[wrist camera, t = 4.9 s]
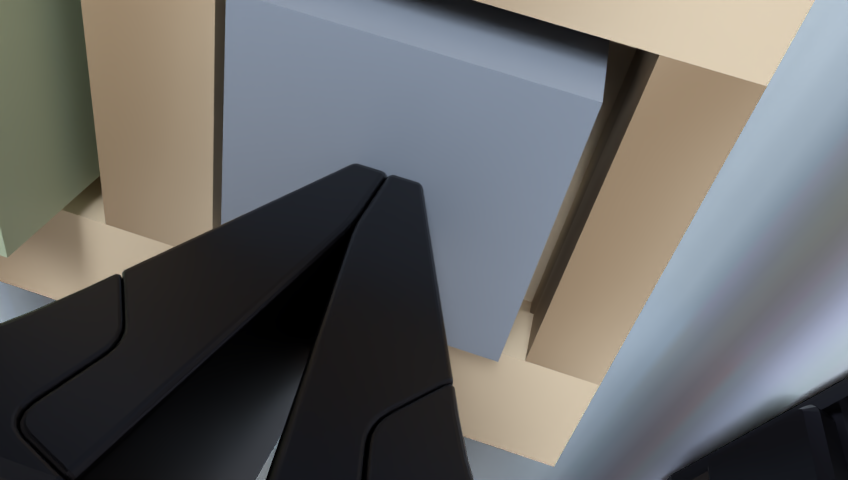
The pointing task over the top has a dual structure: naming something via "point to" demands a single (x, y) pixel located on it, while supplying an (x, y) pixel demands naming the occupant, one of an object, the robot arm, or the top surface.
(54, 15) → the key sage
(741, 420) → the top surface
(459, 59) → the key slate
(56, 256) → the wooden slotted block
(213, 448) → the robot arm
